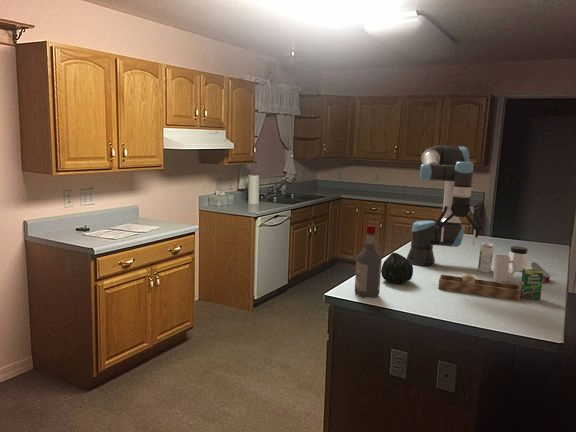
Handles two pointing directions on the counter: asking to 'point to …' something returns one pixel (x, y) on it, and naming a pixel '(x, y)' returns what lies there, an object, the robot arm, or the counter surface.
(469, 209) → the robot arm
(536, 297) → the coffee box
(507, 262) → the mug
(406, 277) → the squash
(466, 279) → the birch block
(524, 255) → the jar
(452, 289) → the box
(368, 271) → the liquor
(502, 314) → the counter surface
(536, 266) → the canned food
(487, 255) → the syrup box
